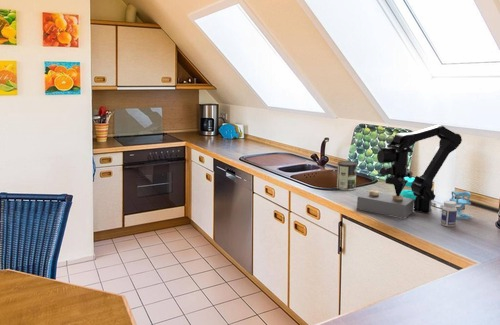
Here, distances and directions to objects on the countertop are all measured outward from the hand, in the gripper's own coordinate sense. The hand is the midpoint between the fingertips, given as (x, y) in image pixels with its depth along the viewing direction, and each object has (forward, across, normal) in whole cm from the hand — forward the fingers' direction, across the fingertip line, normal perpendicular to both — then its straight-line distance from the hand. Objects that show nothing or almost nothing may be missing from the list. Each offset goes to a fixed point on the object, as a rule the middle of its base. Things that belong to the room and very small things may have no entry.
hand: (397, 195), depth 195 cm
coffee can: (+8, -26, -36) cm, 45 cm away
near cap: (+7, 0, 0) cm, 7 cm away
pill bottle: (+8, +3, +22) cm, 24 cm away
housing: (+8, 0, -6) cm, 10 cm away
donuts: (+8, -28, -2) cm, 29 cm away
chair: (+8, -12, +24) cm, 28 cm away
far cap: (+6, 0, -11) cm, 13 cm away
